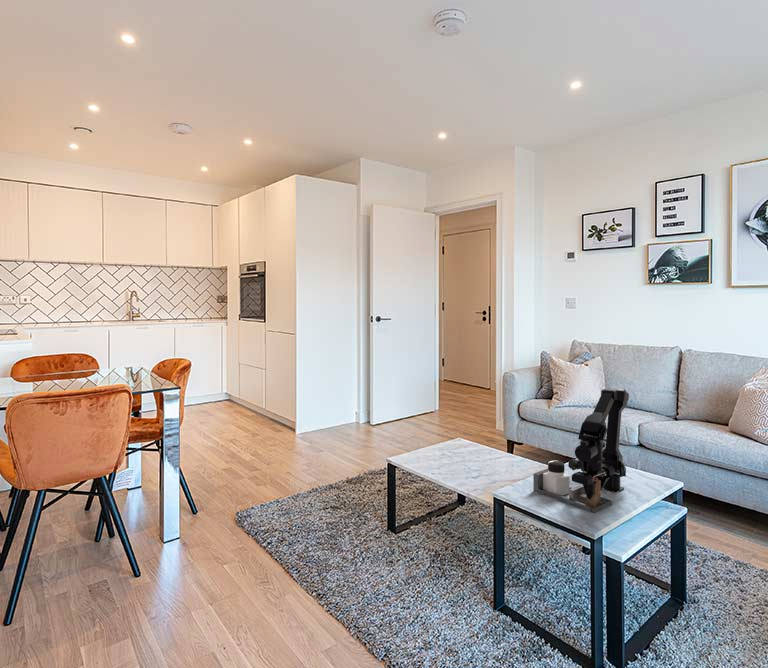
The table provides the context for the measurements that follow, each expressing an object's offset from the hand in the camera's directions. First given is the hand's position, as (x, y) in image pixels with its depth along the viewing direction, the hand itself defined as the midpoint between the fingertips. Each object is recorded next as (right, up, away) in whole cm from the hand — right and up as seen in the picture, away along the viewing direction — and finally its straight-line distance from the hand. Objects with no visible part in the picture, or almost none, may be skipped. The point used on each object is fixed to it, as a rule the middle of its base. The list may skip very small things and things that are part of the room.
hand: (593, 497), depth 178 cm
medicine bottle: (-9, -3, +13) cm, 16 cm away
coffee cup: (+14, -1, +34) cm, 37 cm away
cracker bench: (-5, -3, +7) cm, 9 cm away
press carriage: (-1, -3, +2) cm, 4 cm away
